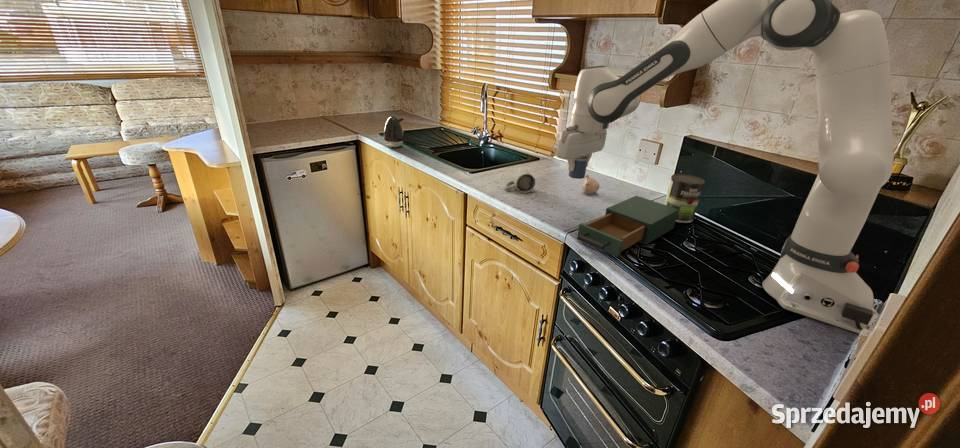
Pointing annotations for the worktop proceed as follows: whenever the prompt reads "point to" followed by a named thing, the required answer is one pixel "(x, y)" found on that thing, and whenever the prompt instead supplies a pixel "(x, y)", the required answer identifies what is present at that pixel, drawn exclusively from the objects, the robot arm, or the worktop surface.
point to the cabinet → (647, 216)
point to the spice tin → (579, 167)
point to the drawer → (611, 233)
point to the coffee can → (684, 196)
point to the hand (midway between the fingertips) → (577, 168)
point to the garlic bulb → (590, 185)
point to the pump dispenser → (393, 132)
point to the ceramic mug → (522, 182)
